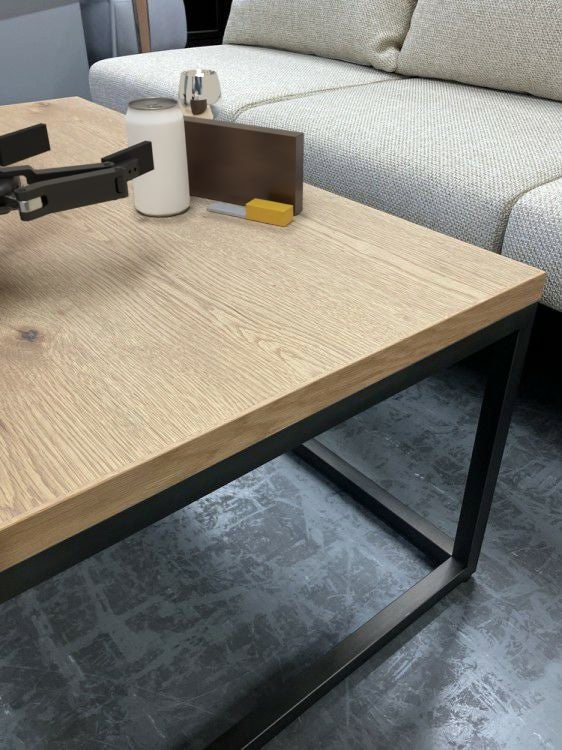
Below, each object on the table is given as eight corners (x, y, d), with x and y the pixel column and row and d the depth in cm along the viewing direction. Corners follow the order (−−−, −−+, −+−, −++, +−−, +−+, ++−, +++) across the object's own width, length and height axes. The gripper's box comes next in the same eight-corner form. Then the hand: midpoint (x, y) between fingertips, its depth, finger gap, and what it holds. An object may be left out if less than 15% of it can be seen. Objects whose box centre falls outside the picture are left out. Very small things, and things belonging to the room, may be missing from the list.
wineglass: (233, 165, 97) (230, 72, 91) (201, 174, 94) (195, 79, 87) (206, 156, 101) (201, 66, 94) (175, 165, 97) (167, 72, 91)
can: (176, 195, 87) (167, 93, 80) (199, 210, 83) (192, 104, 76) (127, 205, 84) (114, 100, 78) (148, 221, 80) (136, 112, 73)
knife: (206, 210, 83) (205, 196, 82) (216, 205, 84) (215, 190, 83) (284, 226, 78) (284, 211, 77) (293, 220, 80) (293, 205, 79)
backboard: (143, 185, 90) (135, 113, 85) (153, 181, 92) (145, 109, 87) (295, 215, 81) (296, 136, 76) (302, 210, 83) (304, 132, 78)
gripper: (-166, 228, 62) (14, 164, 78) (42, 289, 53) (200, 202, 68) (-198, 143, 58) (-1, 93, 74) (22, 192, 48) (195, 122, 64)
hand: (96, 145), depth 71 cm, fingers open, 13 cm apart
